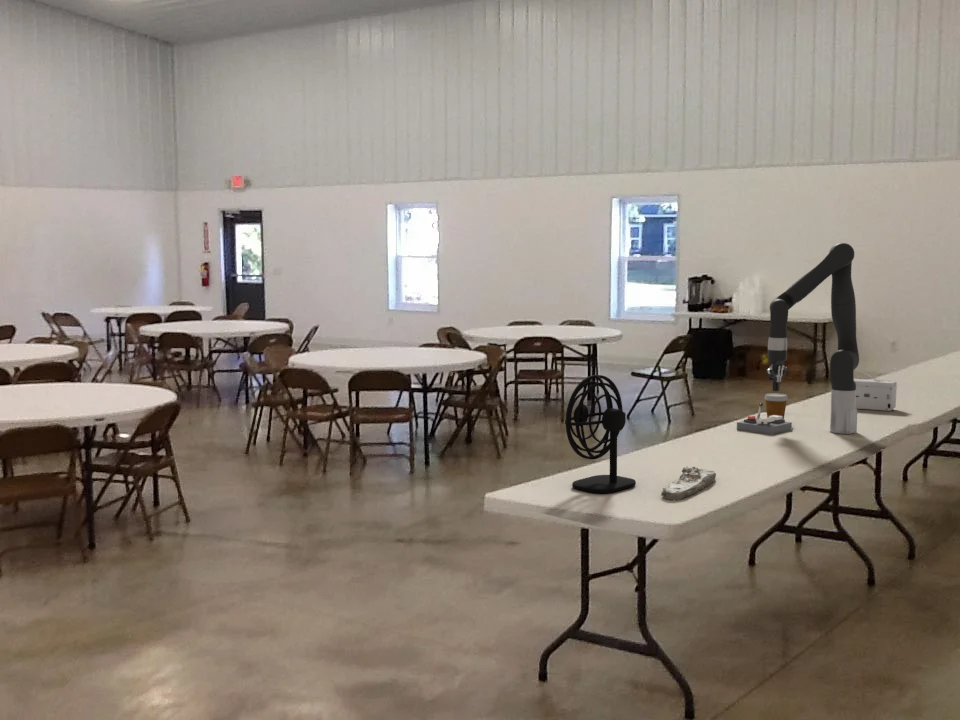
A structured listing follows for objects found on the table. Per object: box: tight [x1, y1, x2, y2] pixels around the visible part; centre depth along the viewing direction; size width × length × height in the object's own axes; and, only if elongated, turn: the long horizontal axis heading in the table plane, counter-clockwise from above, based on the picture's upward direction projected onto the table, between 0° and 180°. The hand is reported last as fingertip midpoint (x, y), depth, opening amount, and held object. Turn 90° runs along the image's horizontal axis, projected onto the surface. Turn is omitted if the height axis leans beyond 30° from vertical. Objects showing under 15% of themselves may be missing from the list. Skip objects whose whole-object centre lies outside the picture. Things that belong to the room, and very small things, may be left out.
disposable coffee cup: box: [764, 392, 789, 420], centre depth 430 cm, size 10×10×12 cm
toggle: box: [756, 402, 764, 419], centre depth 423 cm, size 2×2×7 cm
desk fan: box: [564, 374, 637, 494], centre depth 319 cm, size 27×18×35 cm, turn 134°
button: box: [747, 414, 756, 420], centre depth 416 cm, size 3×3×1 cm
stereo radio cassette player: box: [854, 368, 898, 412], centre depth 463 cm, size 21×8×20 cm, turn 58°
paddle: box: [769, 415, 783, 420], centre depth 415 cm, size 4×4×1 cm
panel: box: [736, 417, 793, 435], centre depth 415 cm, size 16×15×4 cm
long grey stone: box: [661, 466, 717, 501], centre depth 317 cm, size 35×5×10 cm
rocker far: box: [756, 417, 775, 424], centre depth 410 cm, size 6×4×2 cm, turn 43°
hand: (776, 390), depth 414 cm, fingers closed
